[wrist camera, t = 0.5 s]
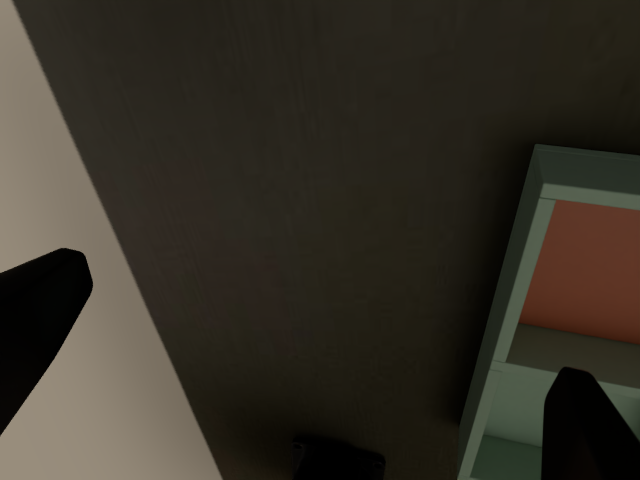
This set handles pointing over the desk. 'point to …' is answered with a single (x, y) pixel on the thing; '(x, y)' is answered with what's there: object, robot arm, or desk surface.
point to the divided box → (558, 308)
